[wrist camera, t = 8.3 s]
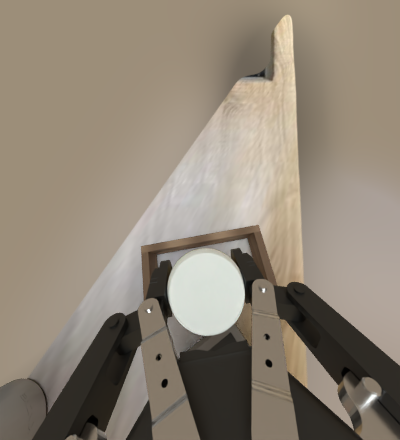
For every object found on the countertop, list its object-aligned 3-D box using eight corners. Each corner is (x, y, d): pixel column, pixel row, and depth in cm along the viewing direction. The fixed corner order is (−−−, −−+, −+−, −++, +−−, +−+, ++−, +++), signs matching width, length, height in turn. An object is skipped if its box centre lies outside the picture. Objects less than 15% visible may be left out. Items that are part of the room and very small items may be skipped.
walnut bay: (155, 321, 24) (145, 331, 20) (150, 249, 27) (141, 246, 23) (271, 300, 24) (283, 305, 20) (251, 231, 27) (258, 224, 23)
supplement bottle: (195, 320, 16) (183, 383, 7) (172, 272, 17) (137, 271, 8) (239, 291, 17) (281, 313, 8) (213, 248, 18) (221, 223, 9)
